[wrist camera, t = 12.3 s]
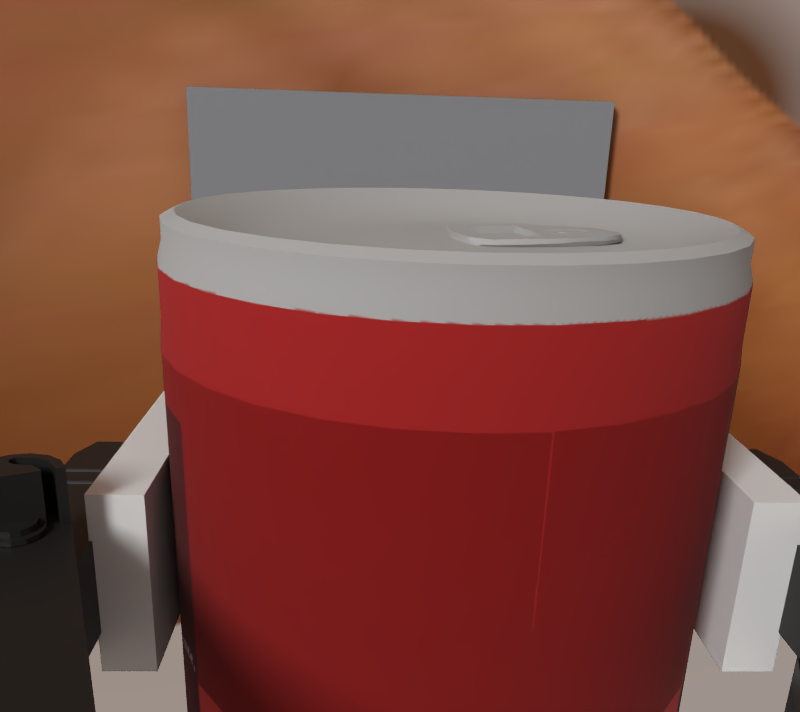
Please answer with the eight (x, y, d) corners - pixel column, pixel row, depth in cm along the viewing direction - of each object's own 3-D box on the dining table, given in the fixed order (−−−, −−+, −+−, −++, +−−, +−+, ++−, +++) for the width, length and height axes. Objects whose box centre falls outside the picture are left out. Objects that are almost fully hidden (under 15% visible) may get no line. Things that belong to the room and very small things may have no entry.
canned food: (748, 907, 12) (902, 237, 9) (284, 1216, 9) (261, 282, 5) (486, 633, 19) (520, 184, 15) (156, 745, 15) (111, 189, 12)
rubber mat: (205, 432, 32) (203, 437, 32) (189, 87, 28) (186, 86, 28) (573, 438, 33) (576, 443, 32) (610, 102, 29) (614, 101, 28)
